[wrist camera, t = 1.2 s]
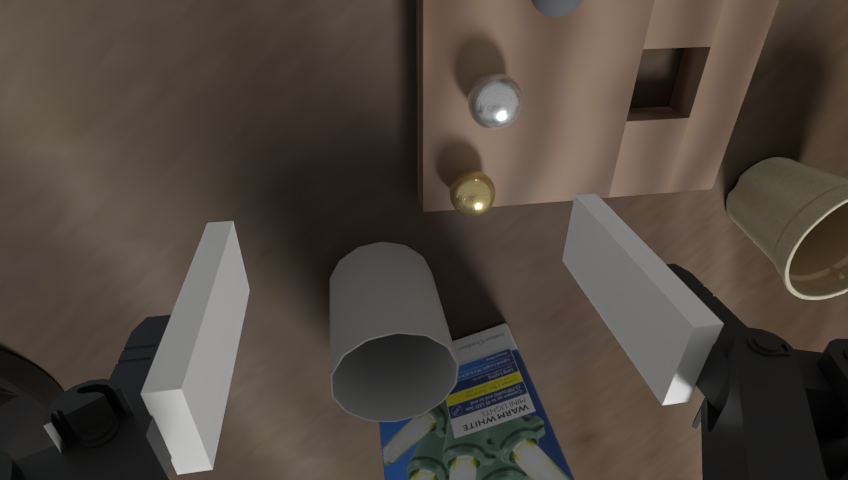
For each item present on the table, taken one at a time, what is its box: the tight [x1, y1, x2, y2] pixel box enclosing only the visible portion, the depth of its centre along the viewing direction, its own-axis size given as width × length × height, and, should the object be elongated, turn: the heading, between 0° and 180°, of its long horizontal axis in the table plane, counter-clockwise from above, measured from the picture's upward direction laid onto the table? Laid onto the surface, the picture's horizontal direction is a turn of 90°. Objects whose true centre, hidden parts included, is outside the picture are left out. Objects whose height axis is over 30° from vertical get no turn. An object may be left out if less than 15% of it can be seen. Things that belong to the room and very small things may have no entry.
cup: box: [330, 242, 459, 422], centre depth 36 cm, size 8×8×10 cm
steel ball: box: [468, 73, 523, 130], centre depth 29 cm, size 3×3×3 cm
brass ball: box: [449, 170, 495, 216], centre depth 32 cm, size 3×3×3 cm
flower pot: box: [726, 157, 848, 300], centre depth 38 cm, size 9×9×9 cm
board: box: [417, 0, 779, 212], centre depth 32 cm, size 22×16×2 cm
